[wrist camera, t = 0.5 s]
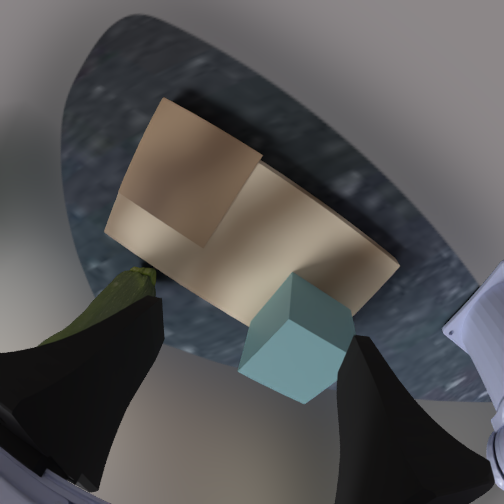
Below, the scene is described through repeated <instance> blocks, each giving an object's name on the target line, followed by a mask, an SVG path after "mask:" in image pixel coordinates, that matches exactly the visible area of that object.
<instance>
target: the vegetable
mask: <svg viewBox="0 0 504 504" xmlns="http://www.w3.org/2000/svg"><path fill="white" fill-rule="evenodd" d="M155 283H156V270H154V269H153V268H144V267H142V268H138V267H133V268H131V269H130V271H124V272H122V273H120V274H119V275H118V276H116V277H115V278H114V280H113V281H112V282H111V283H110V284H109V285H108V286H107V287H106V288H105V289H104V290H103V291H102V292H101V293H100V294H99V295H98V296H97V297H96V298H95V299H94V300H93V301H92V302H91V304H90V305H89V306H88V308H87V309H86V310H85V311H84V312H83V313H82V314H81V315H80V316H79V317H78V318H76V319H75V320H74V321H73V322H72V323H71V324H70V325H69V326H68V327H66V328H65V329H63V330H62V331H60V332H58V333H56V334H54V335H53V336H51V337H49V338H48V339H46V340H45V341H43V342H42V343H41V344H40V345H38V346H41V345H45V344H48V343H51V342H54V341H58V340H60V339H63V338H66V337H68V336H71V335H73V334H76V333H78V332H80V331H82V330H85V329H87V328H89V327H91V326H92V325H94V324H96V323H98V322H100V321H102V320H104V319H106V318H108V317H110V316H112V315H113V314H115V313H117V312H119V311H120V310H122V309H124V308H126V307H127V306H129V305H131V304H133V303H134V302H136V301H138V300H140V299H141V298H143V297H145V296H147V295H149V296H153V297H155V296H156V291H155ZM38 346H37V347H38Z"/></svg>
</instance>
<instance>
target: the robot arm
mask: <svg viewBox="0 0 504 504" xmlns="http://www.w3.org/2000/svg"><path fill="white" fill-rule="evenodd" d="M442 331H443V333H444V334H445V335H446V336H447V337H448V338H450V339H451V340H452V341H453V342H454V343H456V344H457V345H458V346H459V347H461V348H462V349H463V350H464V351H465V352H467V353H468V354H469V355H470V357H471V359H472V361H473V362H474V364H475V366H476V368H477V370H478V372H479V374H480V376H481V379H482V381H483V383H484V385H485V387H486V389H487V391H488V394H489V396H490V398H491V400H492V403H493V404H494V407H495V410H496V412H497V413H496V415H495V416H494V417H493V418H492V419H491V423H492V425H493V428H494V431H493V432H492V434H491V435H490V437H489V440H488V443H487V459H485V458H484V457H482V456H480V455H478V454H477V453H475V452H474V451H472V450H470V449H469V448H467V447H466V446H465V445H463V444H462V443H460V442H459V441H458V440H456V439H455V438H454V437H452V436H451V435H450V434H449V433H447V432H446V431H445V430H444V429H443V428H442V427H441V426H440V425H438V424H437V423H436V422H435V421H434V420H433V419H432V418H431V417H430V416H429V415H428V414H427V413H426V412H425V411H424V410H423V408H421V406H420V405H418V403H417V402H416V401H415V400H414V398H413V397H412V396H411V395H410V393H409V392H408V391H407V390H406V388H405V387H404V386H403V385H402V383H401V382H400V381H399V379H398V378H397V377H396V375H395V374H394V372H393V371H392V370H391V368H390V367H389V365H388V364H387V362H386V361H385V359H384V358H383V356H382V355H381V353H380V352H379V350H378V349H377V347H376V346H375V345H374V343H373V342H372V340H371V339H370V337H367V336H359V335H354V336H353V338H352V340H351V343H350V345H349V348H348V350H347V352H346V355H345V357H344V359H343V362H342V364H341V366H340V368H339V371H338V375H337V407H338V420H339V434H340V464H339V477H338V484H337V492H336V499H335V504H469V503H471V502H473V501H474V500H475V499H477V498H479V497H480V496H482V495H483V494H485V493H486V492H487V491H489V490H490V489H491V488H492V486H493V485H494V483H496V485H497V486H498V487H500V488H501V489H502V490H504V260H502V261H501V262H500V263H499V264H498V266H497V267H496V268H495V270H494V271H493V272H492V273H491V274H490V276H489V277H488V278H487V279H486V280H485V282H484V283H483V284H482V285H481V286H480V288H479V289H478V290H477V291H476V292H475V293H474V294H473V296H472V297H471V298H470V299H469V300H468V301H467V302H466V303H465V304H464V305H463V307H462V308H461V309H460V310H459V311H458V312H457V313H456V314H455V315H454V316H453V317H452V318H451V319H450V320H449V321H448V322H447V323H446V324H445V325H444V326H443V328H442ZM450 331H451V332H450ZM164 339H165V338H164V325H163V309H162V299H161V298H157V297H153V296H149V295H147V296H145V297H143V298H141V299H140V300H138V301H136V302H134V303H133V304H131V305H129V306H127V307H126V308H124V309H122V310H120V311H119V312H117V313H115V314H113V315H112V316H110V317H108V318H106V319H104V320H102V321H100V322H98V323H96V324H94V325H92V326H91V327H89V328H87V329H85V330H82V331H80V332H78V333H76V334H73V335H71V336H68V337H66V338H63V339H60V340H58V341H54V342H51V343H48V344H45V345H41V346H38V347H34V348H30V349H25V350H20V351H15V352H7V353H0V504H111V503H108V502H106V501H104V500H102V499H100V498H98V497H96V496H94V495H92V494H90V493H88V492H96V491H98V490H99V486H100V482H101V478H102V474H103V471H104V467H105V464H106V461H107V457H108V455H109V452H110V449H111V446H112V443H113V441H114V438H115V435H116V433H117V430H118V428H119V425H120V423H121V421H122V418H123V416H124V413H125V411H126V409H127V407H128V405H129V404H130V402H131V400H132V398H133V397H134V395H135V393H136V392H137V390H138V388H139V387H140V385H141V383H142V382H143V380H144V378H145V377H146V375H147V373H148V372H149V370H150V368H151V367H152V365H153V363H154V362H155V360H156V358H157V355H158V353H159V351H160V348H161V346H162V344H163V341H164ZM68 481H69V482H68ZM70 482H71V483H70ZM72 483H73V484H74V485H73V484H72ZM75 485H77V486H79V487H81V488H82V489H84V490H86V491H88V492H86V491H84V490H82V489H81V488H79V487H77V486H75Z"/></svg>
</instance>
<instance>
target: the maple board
mask: <svg viewBox="0 0 504 504" xmlns="http://www.w3.org/2000/svg"><path fill="white" fill-rule="evenodd" d="M262 156H263V155H262V154H260V153H258V152H257V151H255V150H254V149H252V148H251V147H249V146H247V145H246V144H244V143H243V142H241V141H239V140H238V139H236V138H234V137H233V136H231V135H230V134H228V133H226V132H225V131H223V130H221V129H220V128H218V127H216V126H214V125H213V124H211V123H209V122H208V121H206V120H204V119H202V118H201V117H199V116H197V115H195V114H194V113H192V112H190V111H188V110H186V109H185V108H183V107H181V106H179V105H177V104H176V103H174V102H172V101H170V100H168V99H166V98H164V97H163V99H162V100H161V102H160V104H159V106H158V108H157V110H156V112H155V113H154V115H153V117H152V119H151V121H150V123H149V125H148V127H147V129H146V131H145V133H144V135H143V137H142V139H141V141H140V144H139V146H138V148H137V150H136V152H135V154H134V156H133V159H132V161H131V163H130V165H129V168H128V170H127V172H126V175H125V177H124V179H123V182H122V184H121V187H120V189H119V193H118V196H117V198H116V201H115V203H114V206H113V209H112V211H111V214H110V217H109V219H108V222H107V225H106V228H105V231H104V232H105V233H106V234H108V235H109V236H110V237H112V238H113V239H115V240H116V241H117V242H119V243H120V244H122V245H123V246H124V247H126V248H127V249H129V250H130V251H132V252H133V253H134V254H136V255H137V256H139V257H140V258H142V259H143V260H145V261H146V262H148V263H149V264H151V265H152V266H153V267H155V268H156V269H158V270H159V271H161V272H162V273H164V274H165V275H167V276H168V277H170V278H172V279H173V280H175V281H176V282H178V283H179V284H181V285H182V286H184V287H185V288H187V289H189V290H190V291H192V292H193V293H195V294H196V295H198V296H200V297H201V298H203V299H204V300H206V301H208V302H209V303H211V304H212V305H214V306H216V307H217V308H219V309H220V310H222V311H224V312H225V313H227V314H229V315H230V316H232V317H234V318H235V319H237V320H239V321H240V322H242V323H244V324H245V325H247V326H250V322H251V320H252V319H253V318H254V317H255V316H256V315H257V313H258V312H259V311H260V310H261V309H262V308H263V306H264V305H265V304H266V303H267V302H268V300H269V299H270V298H271V297H272V296H273V294H274V293H275V292H276V291H277V290H278V289H279V287H280V286H281V285H282V284H283V282H284V281H285V280H286V279H287V278H288V276H289V275H290V274H291V273H292V272H294V273H295V274H297V275H298V276H300V277H301V278H303V279H304V280H306V281H308V282H309V283H311V284H312V285H314V286H315V287H317V288H318V289H320V290H321V291H323V292H324V293H326V294H327V295H329V296H330V297H332V298H334V299H335V300H337V301H338V302H340V303H341V304H343V305H344V306H346V307H347V308H349V309H350V310H351V313H352V317H353V316H354V315H355V314H356V313H357V312H358V311H359V310H360V309H361V308H362V307H363V306H364V305H365V303H366V302H367V301H368V300H369V299H370V298H371V297H372V296H373V295H374V294H375V293H376V292H377V291H378V290H379V289H380V288H381V287H382V286H383V284H384V283H385V282H386V281H387V280H388V279H389V278H390V277H391V276H392V275H393V273H394V272H395V271H396V270H397V269H398V268H399V267H400V265H399V263H398V262H397V260H396V258H395V257H393V256H392V255H391V254H390V253H388V252H387V251H386V250H385V249H383V248H382V247H381V246H380V245H378V244H377V243H376V242H375V241H373V240H372V239H371V238H370V237H368V236H367V235H366V234H364V233H363V232H362V231H361V230H359V229H358V228H357V227H355V226H354V225H353V224H351V223H350V222H349V221H347V220H346V219H345V218H343V217H342V216H341V215H339V214H338V213H337V212H335V211H334V210H333V209H331V208H330V207H328V206H327V205H326V204H324V203H323V202H322V201H320V200H319V199H317V198H316V197H314V196H313V195H312V194H310V193H309V192H307V191H306V190H305V189H303V188H302V187H300V186H299V185H297V184H296V183H294V182H293V181H291V180H290V179H289V178H287V177H286V176H284V175H283V174H281V173H280V172H278V171H277V170H275V169H274V168H272V167H271V166H269V165H268V164H266V163H264V162H263V161H261V160H260V159H261V157H262Z"/></svg>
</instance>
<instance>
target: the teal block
mask: <svg viewBox="0 0 504 504" xmlns="http://www.w3.org/2000/svg"><path fill="white" fill-rule="evenodd" d="M354 335H356V333H355V328H354V323H353V318H352V313H351V310H350V309H349V308H347V307H346V306H344V305H343V304H341V303H340V302H338V301H337V300H335V299H334V298H332V297H330V296H329V295H327V294H326V293H324V292H323V291H321V290H320V289H318V288H317V287H315V286H314V285H312V284H311V283H309V282H308V281H306V280H304V279H303V278H301V277H300V276H298V275H297V274H295V273H294V272H292V273H291V274H290V275H289V276H288V278H287V279H286V280H285V281H284V282H283V284H282V285H281V286H280V287H279V289H278V290H277V291H276V292H275V293H274V294H273V296H272V297H271V298H270V299H269V300H268V302H267V303H266V304H265V305H264V306H263V308H262V309H261V310H260V311H259V312H258V313H257V315H256V316H255V317H254V318H253V319H252V320H251V322H250V326H249V330H248V334H247V338H246V341H245V345H244V349H243V353H242V357H241V360H240V364H239V368H238V372H240V373H242V374H243V375H246V376H247V377H249V378H251V379H253V380H255V381H257V382H259V383H261V384H263V385H265V386H267V387H269V388H271V389H273V390H275V391H277V392H279V393H281V394H283V395H286V396H288V397H290V398H292V399H294V400H296V401H299V402H301V403H303V404H305V403H307V402H308V401H310V400H311V399H312V398H314V397H315V396H317V395H318V394H319V393H321V392H322V391H323V390H325V389H326V388H327V387H329V386H330V385H331V384H333V383H334V382H335V381H336V380H337V375H338V371H339V368H340V366H341V364H342V362H343V359H344V357H345V355H346V352H347V350H348V348H349V345H350V343H351V340H352V338H353V336H354Z"/></svg>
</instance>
